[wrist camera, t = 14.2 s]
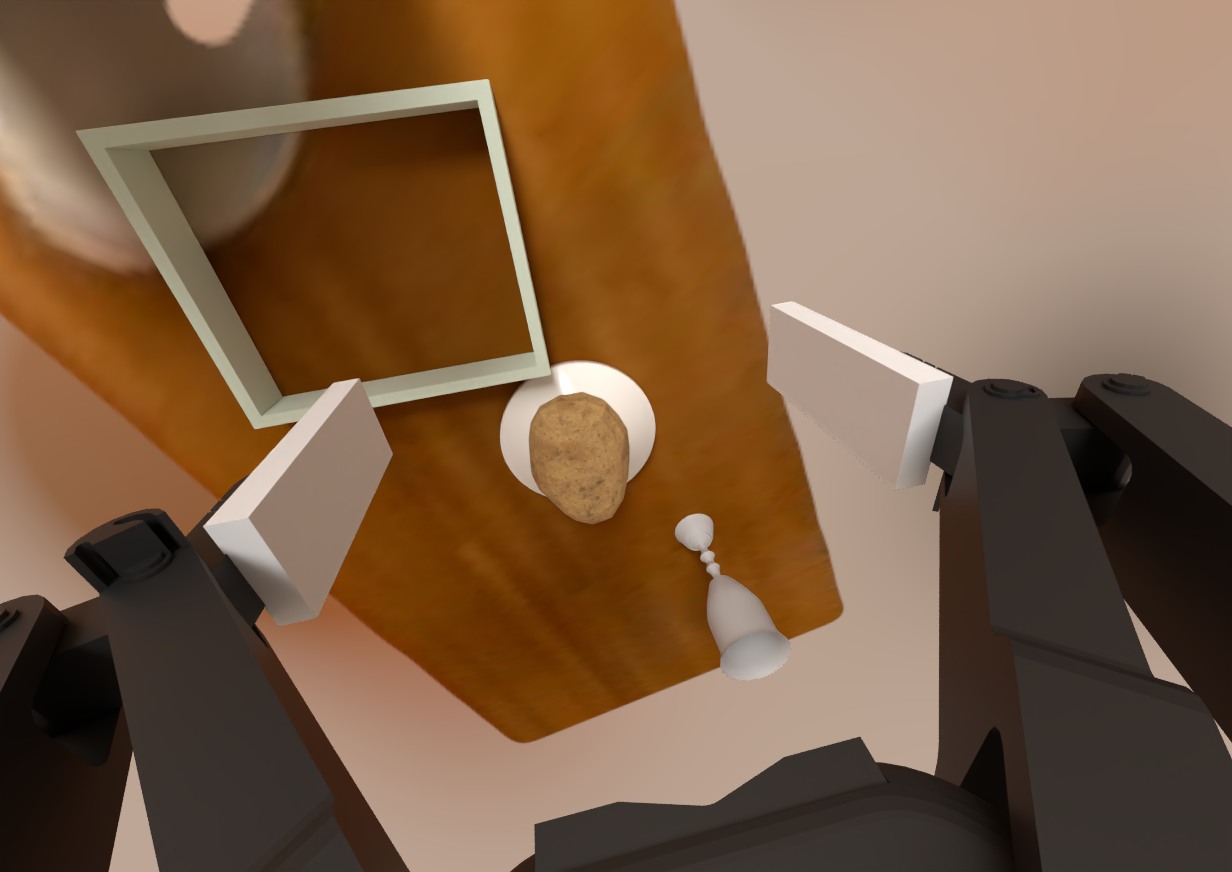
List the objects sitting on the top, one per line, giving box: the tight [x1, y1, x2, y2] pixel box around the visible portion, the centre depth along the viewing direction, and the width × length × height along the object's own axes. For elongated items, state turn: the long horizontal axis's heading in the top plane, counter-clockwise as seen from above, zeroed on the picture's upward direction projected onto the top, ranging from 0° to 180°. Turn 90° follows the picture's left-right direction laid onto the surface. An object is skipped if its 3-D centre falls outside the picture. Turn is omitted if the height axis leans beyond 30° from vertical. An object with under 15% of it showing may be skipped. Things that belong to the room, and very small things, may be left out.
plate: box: [500, 360, 655, 497], centre depth 48 cm, size 16×16×1 cm
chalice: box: [675, 514, 791, 681], centre depth 51 cm, size 7×7×18 cm
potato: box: [529, 392, 629, 524], centre depth 44 cm, size 10×14×8 cm
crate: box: [75, 79, 551, 429], centre depth 36 cm, size 21×25×4 cm
